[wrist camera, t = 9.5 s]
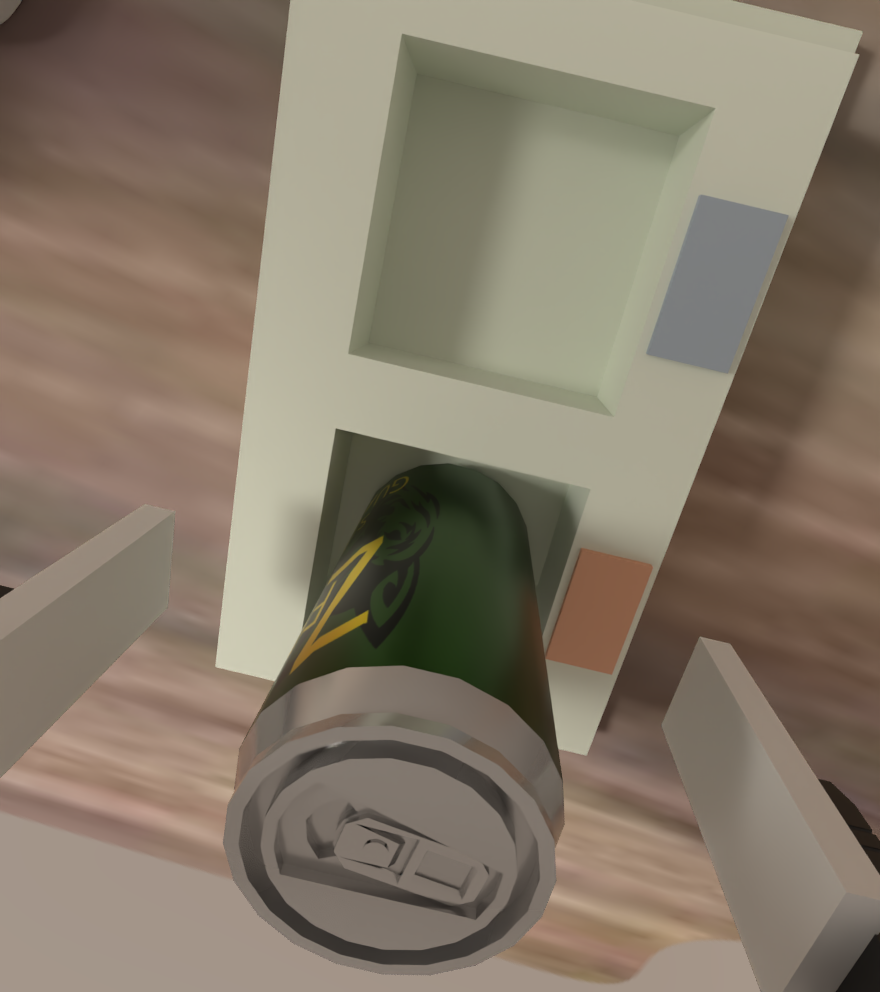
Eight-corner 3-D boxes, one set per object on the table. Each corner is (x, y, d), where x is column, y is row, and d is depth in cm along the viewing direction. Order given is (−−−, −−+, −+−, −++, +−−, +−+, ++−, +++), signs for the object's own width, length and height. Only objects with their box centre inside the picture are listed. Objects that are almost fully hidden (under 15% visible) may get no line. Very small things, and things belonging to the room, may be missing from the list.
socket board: (224, 639, 23) (177, 701, 20) (308, -89, 16) (257, -190, 12) (587, 726, 23) (604, 803, 20) (849, 40, 16) (948, -25, 12)
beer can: (554, 494, 20) (642, 795, 8) (488, 628, 21) (485, 1024, 10) (395, 430, 19) (262, 653, 8) (342, 572, 21) (172, 917, 10)
